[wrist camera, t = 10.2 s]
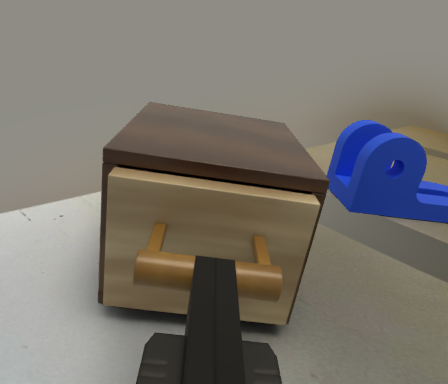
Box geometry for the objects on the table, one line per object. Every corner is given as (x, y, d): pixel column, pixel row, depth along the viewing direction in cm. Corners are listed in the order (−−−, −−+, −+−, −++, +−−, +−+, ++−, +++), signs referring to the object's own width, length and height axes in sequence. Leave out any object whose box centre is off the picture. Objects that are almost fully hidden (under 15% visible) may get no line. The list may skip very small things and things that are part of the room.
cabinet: (288, 323, 22) (330, 180, 19) (97, 302, 22) (102, 147, 18) (262, 221, 35) (284, 123, 31) (140, 204, 34) (149, 101, 30)
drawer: (301, 392, 17) (350, 251, 14) (75, 370, 16) (75, 215, 13) (260, 223, 32) (279, 138, 29) (143, 207, 32) (150, 119, 29)
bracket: (349, 211, 41) (375, 133, 37) (324, 183, 48) (344, 116, 45) (492, 227, 43) (528, 155, 40) (447, 198, 51) (474, 136, 47)
